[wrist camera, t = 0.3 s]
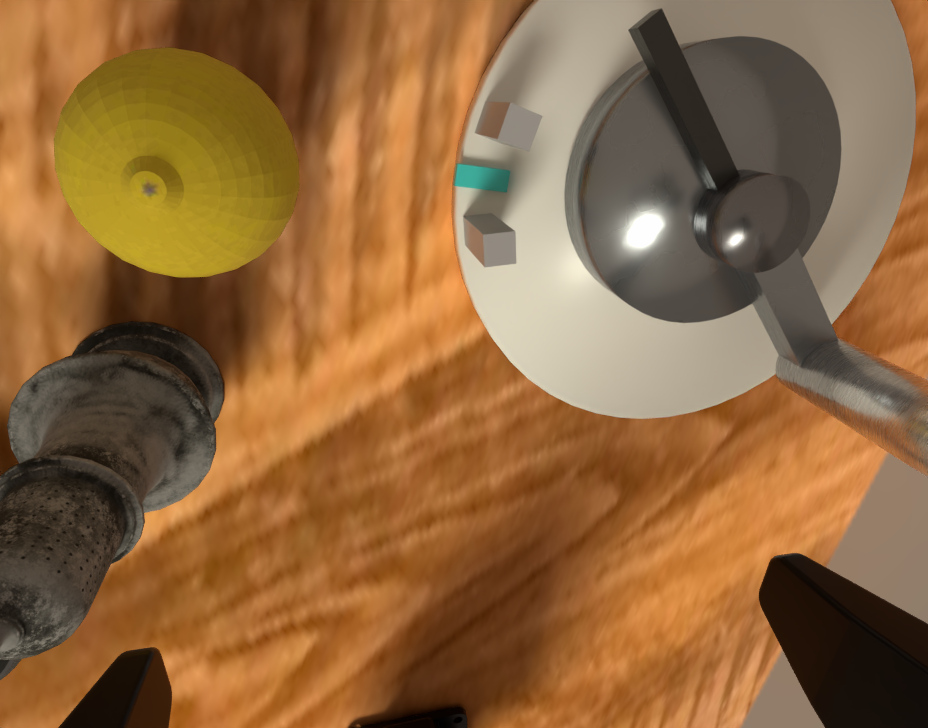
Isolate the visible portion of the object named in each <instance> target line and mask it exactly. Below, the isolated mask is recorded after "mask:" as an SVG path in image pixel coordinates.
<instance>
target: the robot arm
mask: <svg viewBox="0 0 928 728" xmlns="http://www.w3.org/2000/svg"><path fill="white" fill-rule="evenodd" d="M759 602H760V605H761V608H762V610H763V612H764V614H765V616H766V618H767V620H768V622H769V624H770V626H771V628H772V630H773V632H774V634H775V636H776V638H777V640H778V641H779V643H780V645H781V647H782V649H783V651H784V653H785V655H786V657H787V659H788V661H789V663H790V665H791V667H792V669H793V671H794V673H795V675H796V677H797V678H798V681H799V683H800V685H801V686H802V688H803V690H804V692H805V694H806V696H807V697H808V700H809V701H810V703H811V705H812V707H813V708H814V710H815V712H816V713H817V715H818V717H819V718H820V720H821V721H822V723H823V725H824V727H825V728H928V624H927V623H925V622H924V621H922V620H920V619H918V618H916V617H914V616H913V615H911V614H909V613H907V612H905V611H903V610H902V609H900V608H898V607H896V606H894V605H893V604H891V603H889V602H887V601H886V600H884V599H882V598H880V597H878V596H876V595H875V594H873V593H871V592H869V591H868V590H866V589H864V588H862V587H860V586H858V585H857V584H855V583H853V582H851V581H849V580H848V579H846V578H844V577H842V576H840V575H838V574H837V573H835V572H833V571H831V570H830V569H828V568H826V567H824V566H822V565H821V564H819V563H817V562H815V561H813V560H811V559H810V558H808V557H806V556H804V555H802V554H798V553H791V554H784V555H777V556H774V557H773V558H772V559H771V560H770V562H769V565H768V568H767V570H766V573H765V576H764V579H763V582H762V584H761V587H760V590H759ZM171 704H172V690H171V685H170V682H169V678H168V675H167V672H166V669H165V666H164V662H163V659H162V656H161V653H160V651H159V650H158V649H157V648H154V647H150V648H143V649H137V650H130V651H126V652H124V653H122V654H121V655H120V656H118V657H117V658H116V660H115V661H114V662H113V663H112V664H111V666H110V667H109V668H108V669H107V670H106V671H105V673H104V674H103V675H102V676H101V677H100V679H99V680H98V681H97V682H96V683H95V685H94V686H93V687H92V688H91V689H90V691H89V692H88V693H87V694H86V695H85V697H84V698H83V699H82V700H81V701H80V703H79V704H78V705H77V706H76V707H75V708H74V710H73V711H72V712H71V713H70V714H69V716H68V717H67V718H66V719H65V720H64V722H63V723H62V724H61V725H60V726H59V728H168V727H169V720H170V712H171ZM361 728H467V716H466V711H465V709H464V708H463V707H454V708H450V709H445V710H440V711H436V712H431V713H426V714H422V715H417V716H412V717H408V718H403V719H398V720H394V721H389V722H384V723H380V724H375V725H370V726H366V727H361Z"/></svg>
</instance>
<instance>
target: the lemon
mask: <svg viewBox="0 0 928 728" xmlns="http://www.w3.org/2000/svg"><path fill="white" fill-rule="evenodd" d="M54 154H55V169H56V173H57V176H58V179H59V182H60V186H61V189H62V192H63V195H64V197H65V199H66V201H67V203H68V204H69V206H70V208H71V209H72V211H73V213H74V215H75V216H76V218H77V220H78V221H79V223H80V224H81V225H82V226H83V227H84V228H85V229H86V230H87V231H88V232H89V233H90V234H91V235H92V237H93V238H94V239H95V240H96V241H97V242H98V243H99V244H101V245H102V246H103V247H105V248H106V249H108V250H109V251H111V252H112V253H113V254H115V255H116V256H118V257H119V258H121V259H122V260H124V261H126V262H128V263H130V264H133V265H135V266H137V267H140V268H142V269H144V270H146V271H149V272H153V273H158V274H163V275H168V276H173V277H208V276H212V275H216V274H220V273H224V272H228V271H231V270H235V269H237V268H239V267H241V266H243V265H245V264H246V263H248V262H250V261H252V260H253V259H255V258H257V257H259V256H260V255H262V254H263V253H264V252H265V251H266V250H267V249H268V248H269V247H270V246H271V245H272V244H273V243H274V242H275V241H276V240H277V239H278V238H279V237H280V235H281V233H282V232H283V230H284V228H285V226H286V224H287V223H288V221H289V219H290V217H291V216H292V214H293V211H294V207H295V203H296V199H297V195H298V191H299V159H298V156H297V152H296V148H295V144H294V140H293V137H292V133H291V132H290V130H289V128H288V126H287V124H286V122H285V120H284V118H283V116H282V114H281V113H280V111H279V109H278V107H277V106H276V105H275V104H274V103H273V102H272V101H271V99H270V98H269V97H268V96H267V95H266V94H265V92H264V91H263V90H262V89H261V88H260V87H259V85H257V84H256V83H255V82H253V81H252V80H251V79H249V78H248V77H246V76H245V75H244V74H242V73H241V72H240V71H238V70H237V69H236V68H234V67H233V66H231V65H228V64H226V63H224V62H222V61H219V60H217V59H215V58H213V57H210V56H208V55H206V54H204V53H200V52H194V51H188V50H182V49H177V48H170V47H167V48H155V49H144V50H136V51H133V52H130V53H127V54H125V55H122V56H120V57H117V58H114V59H112V60H109V61H107V62H105V63H103V64H102V65H100V66H99V67H98V68H97V69H96V70H94V71H93V72H92V73H91V74H90V75H88V76H87V77H86V78H85V79H83V80H82V81H81V82H80V83H79V84H78V85H77V87H76V88H75V90H74V91H73V93H72V95H71V96H70V98H69V99H68V101H67V103H66V104H65V106H64V107H63V109H62V111H61V115H60V118H59V122H58V126H57V130H56V134H55V137H54Z"/></svg>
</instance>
